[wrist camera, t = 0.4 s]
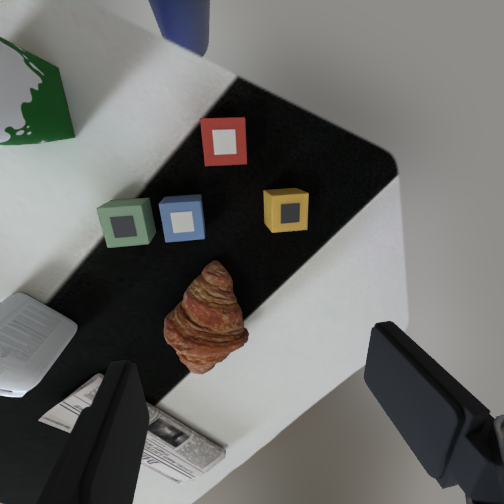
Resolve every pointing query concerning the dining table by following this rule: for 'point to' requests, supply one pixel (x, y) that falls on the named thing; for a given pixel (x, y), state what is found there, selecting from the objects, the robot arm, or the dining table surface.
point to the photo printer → (29, 342)
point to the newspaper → (149, 437)
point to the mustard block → (286, 209)
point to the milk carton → (31, 99)
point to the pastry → (206, 321)
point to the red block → (224, 141)
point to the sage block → (127, 222)
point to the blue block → (182, 218)
